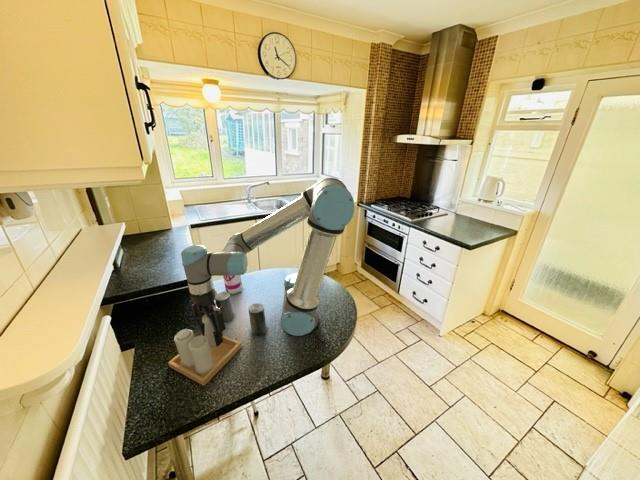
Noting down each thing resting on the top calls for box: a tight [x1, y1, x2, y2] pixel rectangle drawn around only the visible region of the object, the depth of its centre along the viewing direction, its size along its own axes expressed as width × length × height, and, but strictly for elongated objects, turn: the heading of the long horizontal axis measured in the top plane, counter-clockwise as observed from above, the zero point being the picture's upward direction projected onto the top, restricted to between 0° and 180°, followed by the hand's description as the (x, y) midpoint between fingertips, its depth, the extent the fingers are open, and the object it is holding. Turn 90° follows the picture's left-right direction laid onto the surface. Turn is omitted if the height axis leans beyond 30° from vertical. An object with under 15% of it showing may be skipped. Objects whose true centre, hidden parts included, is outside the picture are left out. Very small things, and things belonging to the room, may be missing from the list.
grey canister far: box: [214, 291, 234, 324], centre depth 111 cm, size 6×6×12 cm
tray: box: [167, 334, 242, 387], centre depth 94 cm, size 17×18×3 cm
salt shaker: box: [202, 314, 216, 347], centre depth 94 cm, size 6×6×13 cm
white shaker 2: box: [189, 335, 214, 376], centre depth 87 cm, size 6×6×13 cm
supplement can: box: [222, 275, 243, 295], centre depth 130 cm, size 8×8×15 cm
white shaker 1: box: [173, 328, 196, 368], centre depth 90 cm, size 6×6×13 cm
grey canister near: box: [248, 302, 267, 337], centre depth 104 cm, size 6×6×12 cm
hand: (213, 340), depth 96 cm, fingers closed on salt shaker, 6 cm apart
